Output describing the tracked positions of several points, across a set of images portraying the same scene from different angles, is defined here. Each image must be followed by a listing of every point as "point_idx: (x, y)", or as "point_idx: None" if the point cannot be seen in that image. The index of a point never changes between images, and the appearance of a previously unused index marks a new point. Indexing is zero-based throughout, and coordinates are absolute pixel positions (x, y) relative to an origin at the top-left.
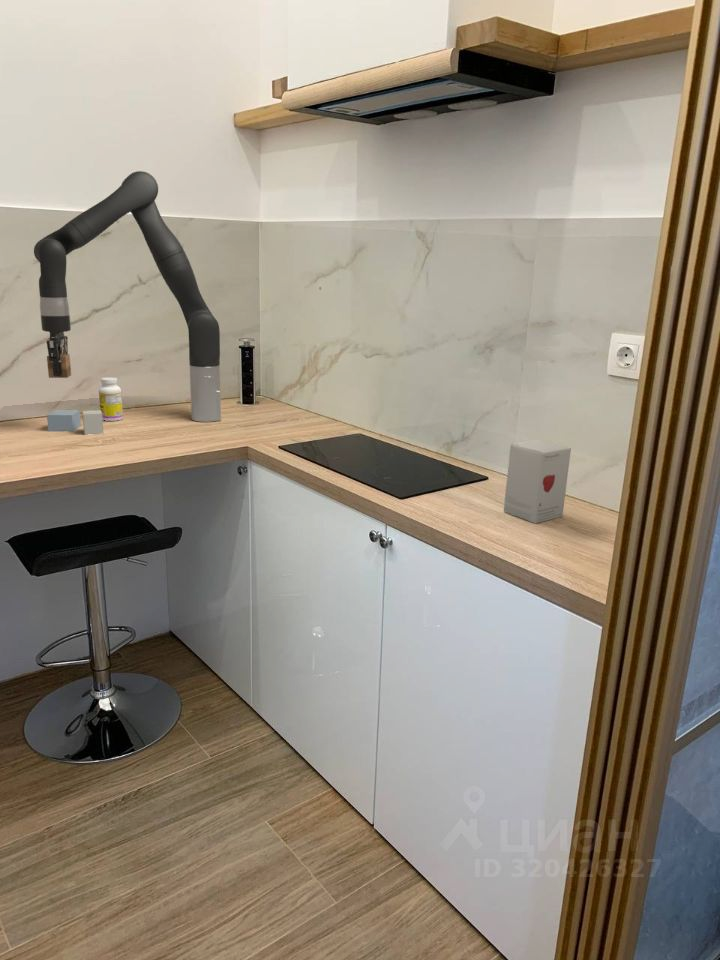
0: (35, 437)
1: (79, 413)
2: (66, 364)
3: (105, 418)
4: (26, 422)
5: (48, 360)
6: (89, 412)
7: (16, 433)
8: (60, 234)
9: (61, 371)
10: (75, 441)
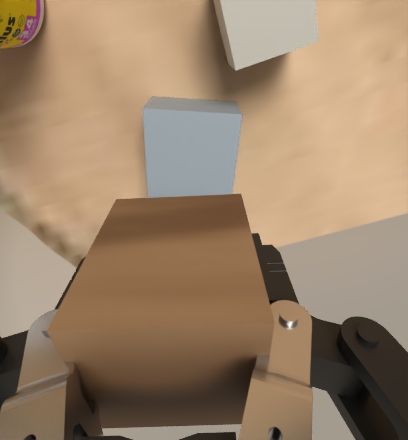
0: (303, 187)
1: (149, 106)
2: (241, 254)
3: (40, 13)
4: None
5: None
6: (273, 20)
7: None
8: None
9: (255, 248)
10: (388, 50)
